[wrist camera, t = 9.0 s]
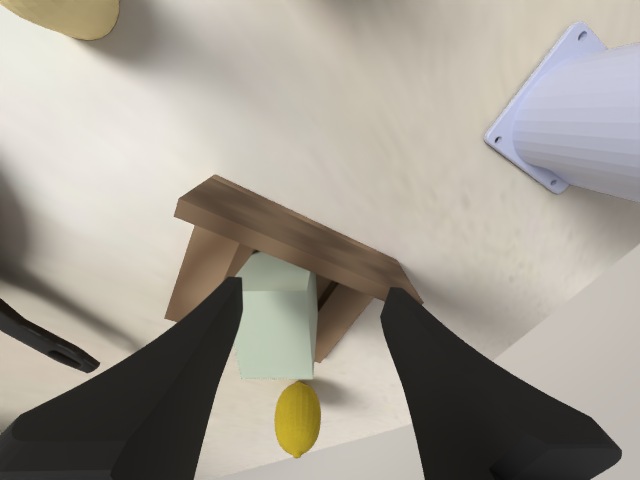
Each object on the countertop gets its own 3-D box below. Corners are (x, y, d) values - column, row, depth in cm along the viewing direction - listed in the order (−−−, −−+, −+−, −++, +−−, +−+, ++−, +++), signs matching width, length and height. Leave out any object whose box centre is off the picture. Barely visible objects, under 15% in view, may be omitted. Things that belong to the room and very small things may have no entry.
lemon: (270, 376, 31) (260, 454, 24) (308, 364, 30) (310, 440, 23) (289, 397, 33) (285, 472, 26) (325, 386, 33) (330, 461, 26)
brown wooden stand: (396, 259, 23) (423, 302, 18) (319, 355, 29) (323, 408, 24) (214, 174, 18) (178, 198, 13) (169, 311, 24) (132, 365, 19)
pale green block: (314, 246, 20) (306, 290, 14) (318, 319, 23) (313, 385, 16) (257, 247, 20) (222, 291, 14) (267, 319, 23) (242, 385, 16)
